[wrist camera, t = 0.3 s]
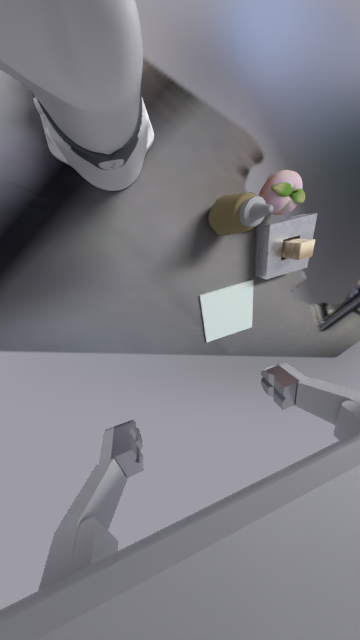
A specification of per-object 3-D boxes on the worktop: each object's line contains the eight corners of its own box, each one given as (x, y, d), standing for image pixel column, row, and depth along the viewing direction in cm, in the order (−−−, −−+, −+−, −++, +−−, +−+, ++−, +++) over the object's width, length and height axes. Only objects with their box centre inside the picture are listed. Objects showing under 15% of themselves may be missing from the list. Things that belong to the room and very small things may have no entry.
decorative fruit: (284, 180, 42) (324, 167, 34) (274, 217, 46) (307, 214, 38) (253, 174, 40) (287, 158, 31) (245, 214, 44) (273, 210, 35)
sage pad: (199, 295, 51) (200, 295, 50) (252, 279, 53) (253, 280, 53) (206, 341, 60) (206, 342, 59) (250, 326, 62) (251, 327, 62)
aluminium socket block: (256, 225, 46) (270, 225, 42) (300, 214, 48) (317, 213, 43) (255, 275, 53) (266, 279, 49) (293, 264, 55) (307, 267, 50)
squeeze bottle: (230, 192, 40) (292, 168, 25) (235, 228, 45) (291, 226, 29) (200, 205, 40) (244, 188, 25) (208, 240, 44) (251, 245, 29)
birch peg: (271, 241, 49) (301, 243, 40) (283, 238, 50) (315, 239, 41) (270, 255, 51) (298, 260, 43) (281, 252, 52) (311, 256, 43)
